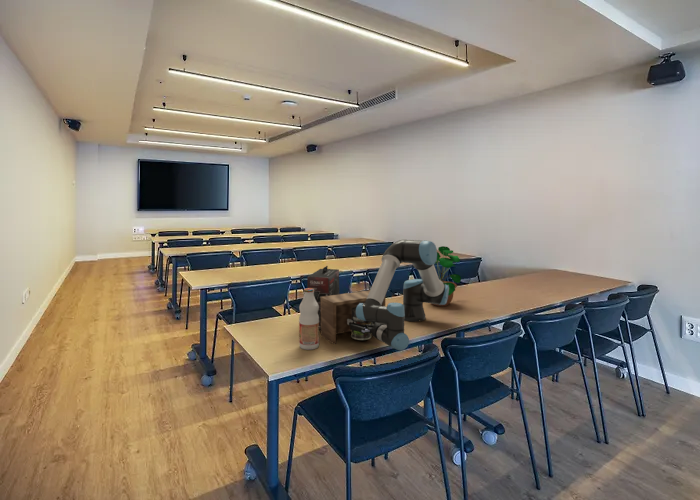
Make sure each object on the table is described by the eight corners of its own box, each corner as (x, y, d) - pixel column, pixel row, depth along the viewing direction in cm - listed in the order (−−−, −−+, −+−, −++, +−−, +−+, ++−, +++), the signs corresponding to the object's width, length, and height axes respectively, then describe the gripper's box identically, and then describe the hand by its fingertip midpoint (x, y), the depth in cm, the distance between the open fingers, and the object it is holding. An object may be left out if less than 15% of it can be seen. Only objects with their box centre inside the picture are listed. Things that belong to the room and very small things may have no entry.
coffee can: (368, 341, 187) (369, 312, 185) (348, 338, 190) (348, 310, 188) (373, 334, 197) (374, 307, 195) (354, 332, 200) (354, 305, 198)
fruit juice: (308, 351, 177) (308, 292, 174) (295, 346, 184) (294, 289, 180) (323, 346, 184) (323, 288, 181) (310, 341, 191) (309, 285, 187)
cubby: (370, 326, 215) (371, 290, 212) (384, 333, 203) (385, 295, 201) (320, 335, 199) (320, 296, 197) (333, 343, 188) (333, 302, 185)
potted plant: (434, 312, 243) (436, 250, 239) (415, 301, 271) (417, 245, 266) (477, 309, 251) (480, 249, 246) (455, 298, 279) (457, 244, 274)
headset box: (329, 331, 205) (329, 270, 201) (306, 330, 208) (306, 269, 204) (340, 318, 229) (340, 263, 225) (319, 317, 231) (319, 262, 227)
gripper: (361, 344, 172) (337, 330, 191) (401, 336, 183) (375, 323, 202) (361, 328, 171) (337, 315, 190) (402, 320, 182) (375, 309, 201)
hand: (356, 319), depth 196 cm, fingers closed on coffee can, 10 cm apart
